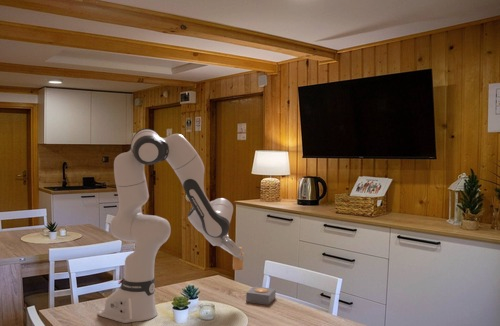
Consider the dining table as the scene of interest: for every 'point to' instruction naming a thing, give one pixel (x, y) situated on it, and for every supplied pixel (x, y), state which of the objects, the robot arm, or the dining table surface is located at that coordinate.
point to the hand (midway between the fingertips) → (239, 257)
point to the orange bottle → (238, 262)
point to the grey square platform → (260, 295)
